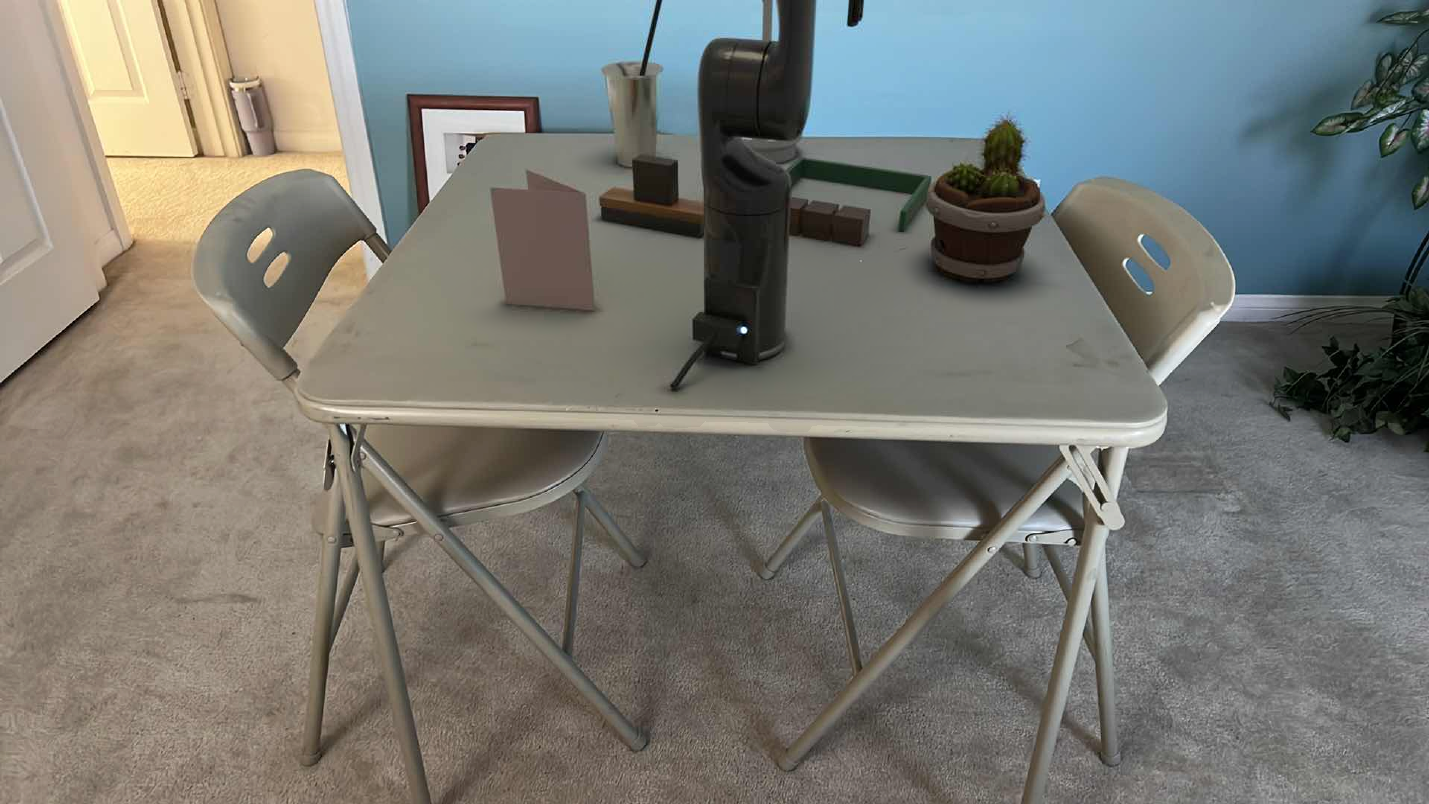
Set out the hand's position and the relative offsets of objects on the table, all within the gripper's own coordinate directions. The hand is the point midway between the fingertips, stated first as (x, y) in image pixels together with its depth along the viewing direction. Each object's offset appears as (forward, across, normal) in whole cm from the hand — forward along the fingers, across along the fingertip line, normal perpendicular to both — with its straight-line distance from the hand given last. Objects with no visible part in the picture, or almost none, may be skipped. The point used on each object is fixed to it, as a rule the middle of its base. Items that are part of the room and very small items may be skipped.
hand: (823, 22), depth 126 cm
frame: (+27, +3, +6) cm, 28 cm away
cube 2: (+27, +5, -7) cm, 28 cm away
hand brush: (+27, -17, -16) cm, 36 cm away
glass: (+27, -35, +5) cm, 45 cm away
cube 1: (+27, +9, -6) cm, 29 cm away
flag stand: (+27, -19, +19) cm, 38 cm away
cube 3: (+27, 0, -8) cm, 28 cm away
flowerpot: (+27, +27, -7) cm, 39 cm away
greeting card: (+27, -15, -44) cm, 54 cm away
